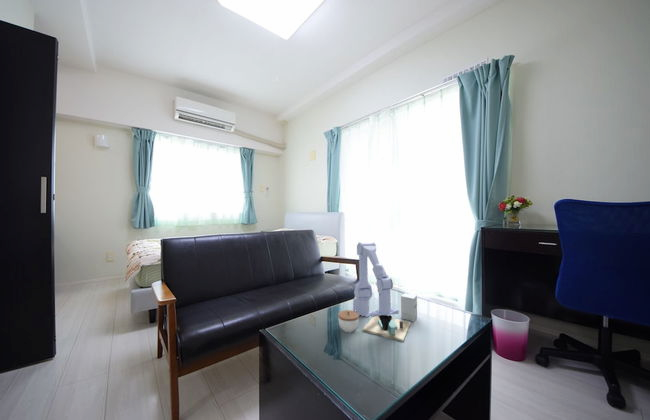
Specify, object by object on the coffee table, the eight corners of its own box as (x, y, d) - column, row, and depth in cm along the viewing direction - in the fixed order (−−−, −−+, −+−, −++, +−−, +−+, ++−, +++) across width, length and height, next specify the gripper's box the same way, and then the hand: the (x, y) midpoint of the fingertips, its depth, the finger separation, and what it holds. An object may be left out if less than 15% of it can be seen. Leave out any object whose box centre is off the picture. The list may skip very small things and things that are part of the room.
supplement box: (414, 321, 124) (413, 298, 124) (400, 318, 128) (400, 296, 129) (417, 317, 130) (417, 295, 130) (404, 313, 134) (404, 292, 135)
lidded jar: (358, 335, 109) (358, 316, 110) (336, 333, 111) (336, 314, 112) (359, 325, 120) (359, 307, 120) (339, 323, 122) (339, 306, 122)
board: (362, 331, 114) (362, 323, 114) (374, 316, 131) (374, 309, 131) (403, 341, 104) (403, 333, 104) (410, 324, 121) (410, 316, 121)
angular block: (377, 321, 121) (377, 315, 122) (392, 321, 122) (392, 315, 122) (384, 334, 108) (384, 327, 108) (401, 334, 108) (401, 327, 108)
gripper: (375, 306, 105) (375, 335, 105) (402, 303, 109) (402, 331, 109) (368, 301, 112) (369, 328, 112) (394, 298, 116) (394, 325, 115)
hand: (385, 329), depth 111 cm, fingers closed
